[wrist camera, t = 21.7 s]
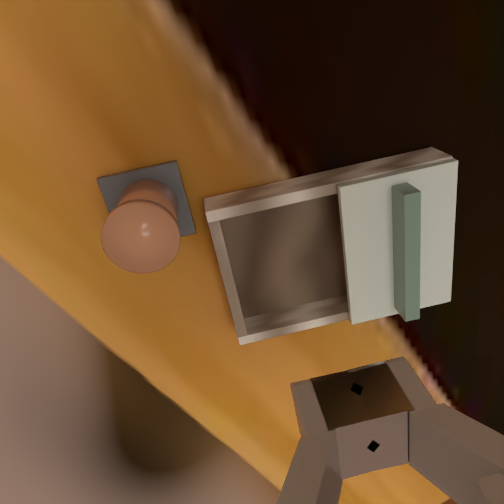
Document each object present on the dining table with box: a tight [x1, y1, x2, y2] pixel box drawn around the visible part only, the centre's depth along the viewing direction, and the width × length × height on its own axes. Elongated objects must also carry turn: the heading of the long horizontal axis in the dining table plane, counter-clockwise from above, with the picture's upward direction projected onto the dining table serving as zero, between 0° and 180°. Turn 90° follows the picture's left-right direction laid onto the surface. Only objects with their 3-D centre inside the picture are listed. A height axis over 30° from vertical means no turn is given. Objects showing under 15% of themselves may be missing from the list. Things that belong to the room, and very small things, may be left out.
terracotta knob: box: [101, 179, 180, 273], centre depth 34 cm, size 6×6×7 cm
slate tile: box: [97, 160, 196, 237], centre depth 38 cm, size 7×7×1 cm
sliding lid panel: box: [337, 159, 458, 325], centre depth 38 cm, size 10×15×3 cm
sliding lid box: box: [204, 147, 453, 345], centre depth 41 cm, size 22×15×4 cm
